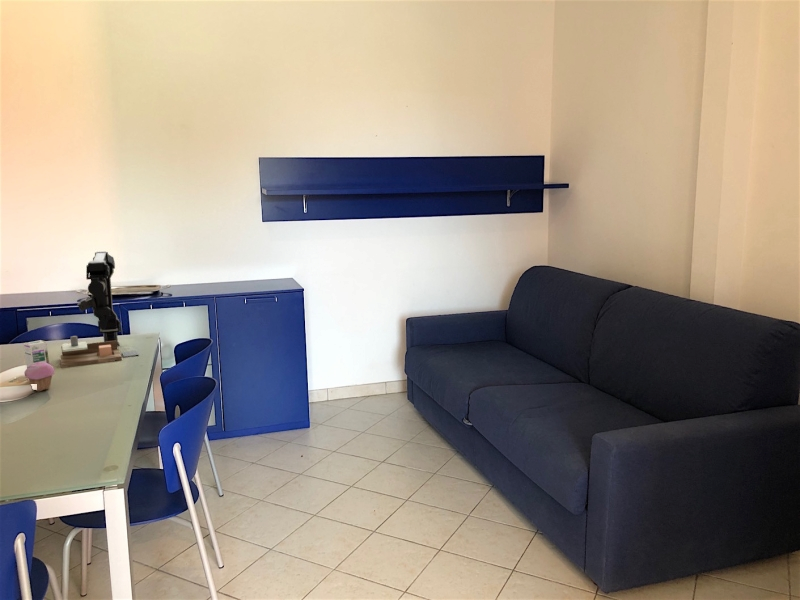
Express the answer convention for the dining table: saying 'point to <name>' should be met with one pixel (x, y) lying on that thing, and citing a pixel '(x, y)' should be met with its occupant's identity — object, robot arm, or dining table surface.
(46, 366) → the cupcake
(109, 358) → the walnut board
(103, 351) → the terracotta block
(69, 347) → the sliding cover
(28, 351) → the syrup box
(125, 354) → the grey pad
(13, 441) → the dining table surface
